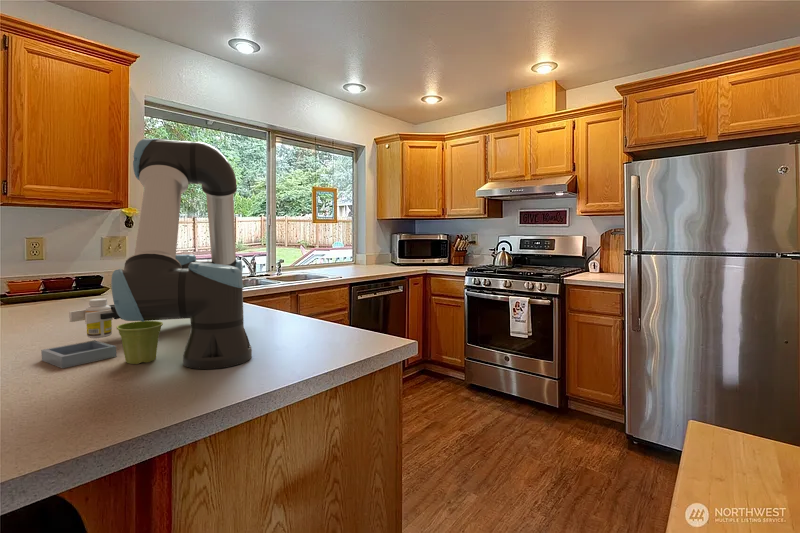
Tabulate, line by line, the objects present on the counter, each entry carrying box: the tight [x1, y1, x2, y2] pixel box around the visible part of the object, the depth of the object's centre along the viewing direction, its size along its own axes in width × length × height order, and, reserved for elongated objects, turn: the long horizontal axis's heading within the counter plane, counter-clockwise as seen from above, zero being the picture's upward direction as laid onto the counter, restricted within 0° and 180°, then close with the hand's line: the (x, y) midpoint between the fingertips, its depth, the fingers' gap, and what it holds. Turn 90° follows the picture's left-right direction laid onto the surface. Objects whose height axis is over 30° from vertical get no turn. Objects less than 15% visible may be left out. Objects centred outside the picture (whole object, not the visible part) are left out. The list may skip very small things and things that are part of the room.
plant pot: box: [116, 320, 164, 365], centre depth 98 cm, size 9×9×9 cm
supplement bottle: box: [85, 298, 113, 339], centre depth 113 cm, size 6×6×10 cm
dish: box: [41, 339, 117, 369], centre depth 100 cm, size 11×11×3 cm
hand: (78, 317), depth 108 cm, fingers closed on supplement bottle, 5 cm apart
